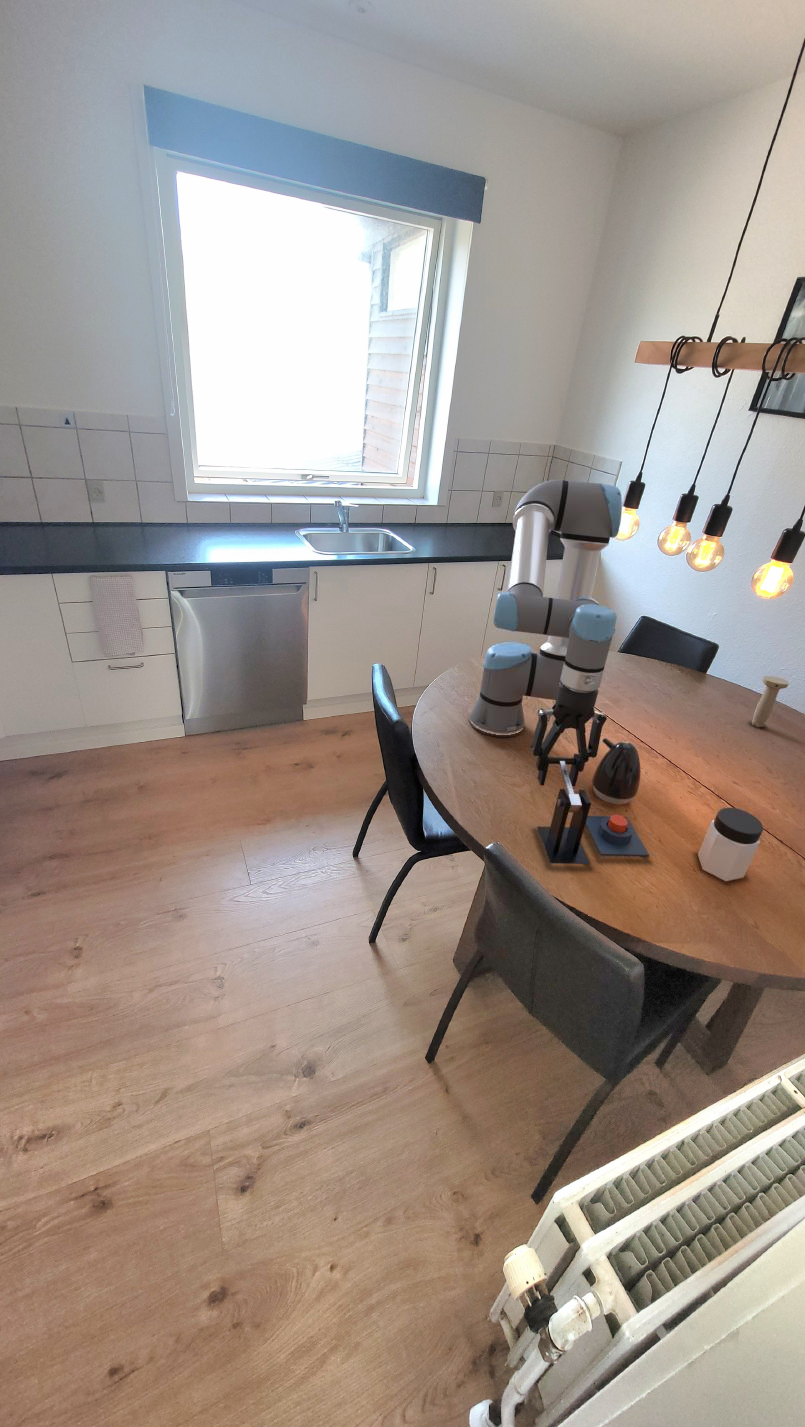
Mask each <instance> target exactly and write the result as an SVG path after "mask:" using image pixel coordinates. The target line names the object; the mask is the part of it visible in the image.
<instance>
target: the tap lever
mask: <svg viewBox="0 0 805 1427" xmlns="http://www.w3.org/2000/svg"><path fill="white" fill-rule="evenodd" d="M548 757H549V759H550V762H549V765H558V767H559V771H560V775H561V778H562V781H563V784H564V789H565V791H566V793H567V795H568V797H569V799H570V802H571V804H570V808H569V812H568V813H573V812H575V813H579V811H580V809H581V807H582V803H581V800H580V797H579V794H578V793H575V791H574V787H573V786H572V784H571V781H570V778H569V772H568V771H569V770H568V767H567V765H570V766H571V765H575V764H576V758H573V757H563V756H562V757H561V756H560V757H559V756H558V757H557V756H548Z"/></svg>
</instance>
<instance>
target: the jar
mask: <svg viewBox="0 0 805 1427" xmlns="http://www.w3.org/2000/svg"><path fill="white" fill-rule="evenodd" d="M763 831H764V826H763V824H762V822H761V821H760V820H759V819H758V817H756V816H755V815H754V814H751V813H750V812H748V811H746V810H743V809H740V808H736V807H723V808H721V809H719V810H718V811H717V814H716V815H715V818H714V819H712V820H711V821H710V824H709V826H708V829H707V831H706V834H705V836H704V837H703V838H704V839H703V841H702V844H701V846H700V848H699V851H698V853H697V857H698V859H699V863H700V866H701V870H703V871H705V872H706V873H709V874H711V875H712V876H714V877H716V878H718V879H720V880H722V881H724V882H729V881H733V880H738V879H739V880H740V879H743V878H744V877H745V875H746V873H747V872H748V869H749V867H750V865H751V863H752V861H753V860H754V856H755V854H756V852H757V850H758V848H759V846H760V844H761V841H760V838H761V835H762V833H763Z"/></svg>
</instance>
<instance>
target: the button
mask: <svg viewBox="0 0 805 1427" xmlns="http://www.w3.org/2000/svg"><path fill="white" fill-rule="evenodd" d="M610 816H611V817H610V820H609V823H608V828H609V829H611V830H612V831H614V832H617V833H624V832H625V831H626V828H627V825H628V821H627V819H626V818H624V817H625V816H623V815H621V814H612V815H610Z"/></svg>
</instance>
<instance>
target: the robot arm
mask: <svg viewBox="0 0 805 1427" xmlns="http://www.w3.org/2000/svg"><path fill="white" fill-rule="evenodd" d="M622 511H623V498H622V493H621V490H620V489H619V487H617V486H616V485H613V484H612V485H611V484H605V483H602V482H587V481H586V482H585V481H573V480H563V479H549V480H546V481H544V482H541V483H539V484H537V485H535V486H534V487H532V488H531V489H530V490H528V491H527V492H526V493H525V494H524V495H523V496H522V497H521V499H520V500H519V502H518V503H517V505H516V507H515V509H514V511H513V516H512V527H513V530H514V531H515V533H514V540H513V547H512V548H513V549H512V554H511V562H510V568H509V576H508V582H507V589H506V591H499V592H498V594H497V596H496V603H495V609H494V615H493V626H494V627H495V628H497V629H500V630H506V631H510V632H518V633H527V634H536V635H544V636H548V637H547V641H546V642H545V643H544V644H542V645H541V646H540V647H539V653H537V652H533V651H532V648H531V647H530V646H529V645H527V644H526V643H525V644H523V642H515V641H506V642H500V643H497V644H494V645H492V646H490V647H489V648H488V649H487V651H486V653H485V658H484V661H483V665H482V666H483V672H482V677H481V683H480V685H481V686H480V689H479V690H480V691H479V696H478V697H477V700H476V701H475V704H474V705H473V707H472V709H471V711H470V714H469V720H468V721H469V724H470V726H471V727H472V728H473V729H474V730H476V731H477V732H478V733H480V734H483V735H485V736H489V737H494V738H512V737H513V738H514V737H516V736H519V735H520V734H522V733H523V731H524V728H525V715H524V708H523V698H524V697H530V698H537V699H542V700H551V701H555V703H554V704H553V705H552V706H551V708H548V709H544V708H538V709H537V714H538V715H537V716H538V717H537V718H538V720H537V723H536V727H535V730H534V734H533V736H532V741H531V744H530V750H531V753H532V755H533V756H534V757H537V758H536V764H535V766H536V769H537V771H538V774H537V781H538V783H539V785H540V786H545V783H546V780H547V779H546V778H547V774H548V770H549V765H550V764H549V762H550V759H549V757H550V756H549V754H550V753H551V751H552V749H553V748H554V746H555V745H556V743H557V741H558V739H559V738H560V736H561V734H563V733H564V732H565V730H566V729H567V730H568V729H573V730H575V734H576V735H575V736H576V744H577V752H578V753H573V757H572V758H576V764H575V765H570V770H569V772H568V774H569V778H570V781H571V784H572V788H574V787H576V785H577V781H578V777H579V773H582V772H583V771H584V769H585V765H586V763H588V762H589V761H590V758H592V759H595V758H596V757H597V756H598V751H599V746H600V741H601V735H602V731H603V727H604V725H605V723H606V722H607V720H608V718H607V716H606V715H605V713H604V711H603V710H598V711H597V710H595V706H596V702H597V699H598V695H599V689H600V686H601V683H602V680H603V676H604V673H605V672H604V671H605V667H606V663H607V659H608V655H609V651H610V648H611V645H612V644H611V643H612V640H613V637H614V634H615V633H616V623H617V618H618V617H617V613H616V612H615V611H614V610H613V609H611V608H609V607H608V606H604V605H600V603H599V602H598V601H597V599H594V598H592V595H593V590H594V586H595V580H596V575H597V571H598V566H599V561H600V556H601V552H602V551H603V550H604V549H605V548H606V547H608V546H609V544H610V540H611V539H613V538H616V537H617V536H618V534H619V532H620V526H621V521H622V513H623V512H622ZM552 531H553V532H560V538H559V540H560V543H562V545H563V546H564V550H563V554H562V555H563V556H562V557H563V558H562V562H561V566H560V572H559V576H558V583H557V588H556V593H555V597H547V596H544V588H545V577H546V569H547V568H546V566H547V558H548V557H547V556H548V545H549V536H550V533H551V532H552ZM552 716H553V717H554V720H553V722H552V726H551V728H550V729H549V731H548V732H547V735H546V731H547V728H548V722H550V720H551V717H552ZM470 719H471V721H472V722H473V723H474V724H475V725H476V726H479V728H481V729H484V730H487V731H491V732H494V733H500V734H501V733H502V734H509V733H515V732H517V731H520V730H521V729H522V728H523V727H524V728H523V729H522V730H521V731H520V732H518V733H515V734H511V735H496V734H491V733H487V732H484V731H482V730H480V729H478V728H476V727H475V726H474V725H473V724H472V723H471V721H470ZM590 720H592V722H591V728H590V733H589V739H588V744H587V738H586V731H587V730H586V724H587V723H588V722H589V721H590ZM545 735H546V736H545Z"/></svg>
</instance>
